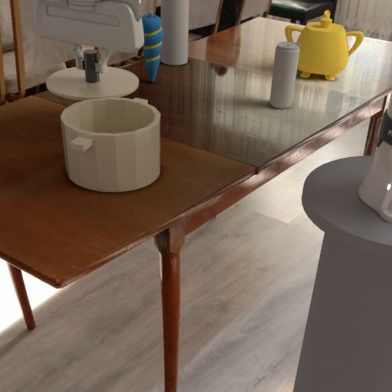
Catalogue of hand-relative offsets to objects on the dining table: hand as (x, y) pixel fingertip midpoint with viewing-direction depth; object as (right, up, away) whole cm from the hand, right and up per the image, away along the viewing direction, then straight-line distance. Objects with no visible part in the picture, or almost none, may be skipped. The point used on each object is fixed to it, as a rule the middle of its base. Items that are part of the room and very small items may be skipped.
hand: (91, 70), depth 113 cm
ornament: (+9, +9, +27) cm, 30 cm away
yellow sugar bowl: (+48, +16, +37) cm, 63 cm away
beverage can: (+37, +1, +20) cm, 42 cm away
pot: (+5, -20, -6) cm, 21 cm away
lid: (0, -2, +2) cm, 2 cm away
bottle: (+14, +19, +39) cm, 45 cm away
